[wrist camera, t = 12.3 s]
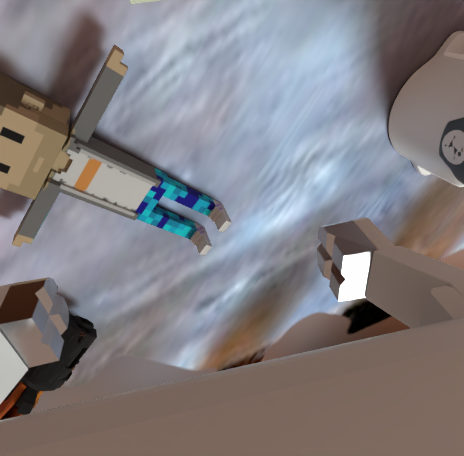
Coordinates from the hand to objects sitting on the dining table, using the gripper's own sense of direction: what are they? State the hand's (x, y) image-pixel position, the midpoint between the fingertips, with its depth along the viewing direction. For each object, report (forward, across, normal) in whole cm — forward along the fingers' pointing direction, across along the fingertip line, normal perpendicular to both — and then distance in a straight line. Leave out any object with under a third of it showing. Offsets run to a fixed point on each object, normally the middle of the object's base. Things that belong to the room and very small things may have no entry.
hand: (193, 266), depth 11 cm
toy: (+34, +9, +11) cm, 37 cm away
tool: (+34, +28, +39) cm, 59 cm away
